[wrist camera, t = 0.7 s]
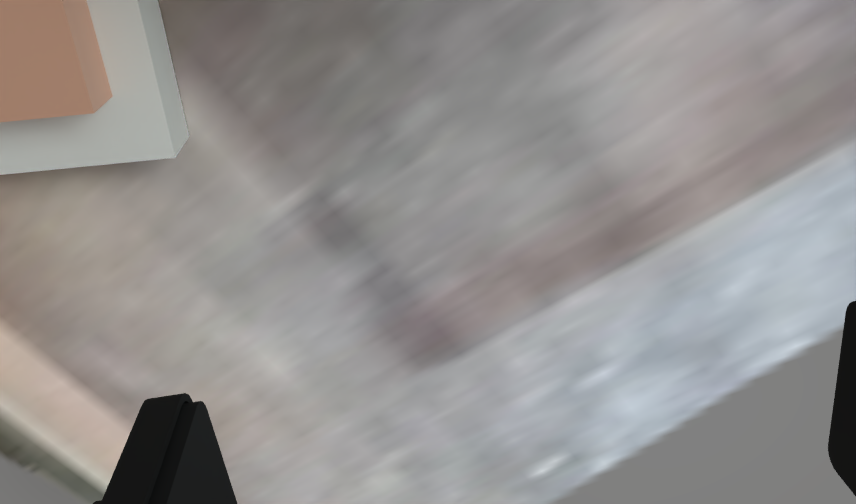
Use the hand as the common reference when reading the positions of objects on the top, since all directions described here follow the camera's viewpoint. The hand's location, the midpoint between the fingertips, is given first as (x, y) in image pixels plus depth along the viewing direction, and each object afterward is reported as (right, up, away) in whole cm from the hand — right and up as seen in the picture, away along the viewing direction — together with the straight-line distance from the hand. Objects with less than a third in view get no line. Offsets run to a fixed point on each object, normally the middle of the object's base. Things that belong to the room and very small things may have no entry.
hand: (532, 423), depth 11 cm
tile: (-18, +11, +20) cm, 30 cm away
